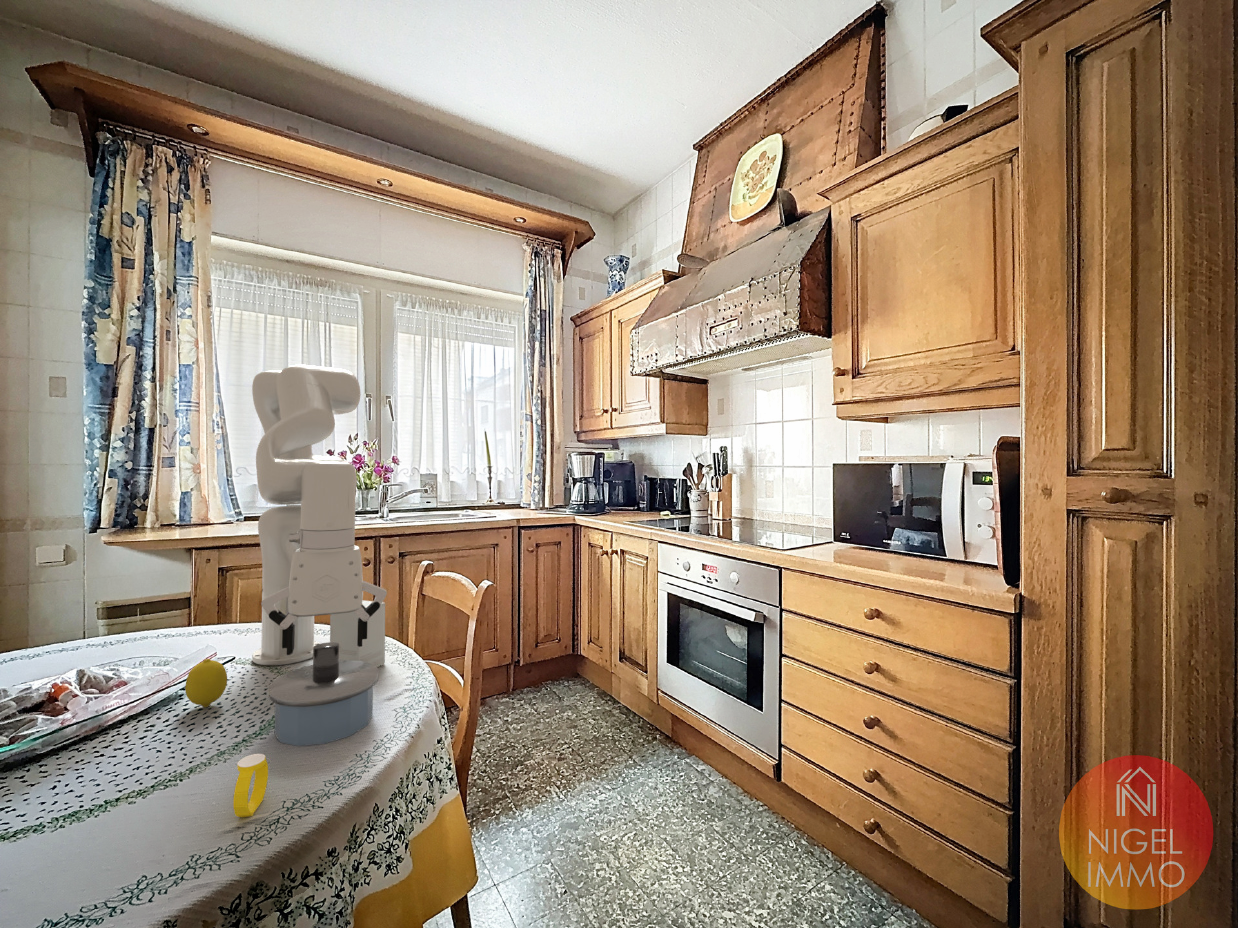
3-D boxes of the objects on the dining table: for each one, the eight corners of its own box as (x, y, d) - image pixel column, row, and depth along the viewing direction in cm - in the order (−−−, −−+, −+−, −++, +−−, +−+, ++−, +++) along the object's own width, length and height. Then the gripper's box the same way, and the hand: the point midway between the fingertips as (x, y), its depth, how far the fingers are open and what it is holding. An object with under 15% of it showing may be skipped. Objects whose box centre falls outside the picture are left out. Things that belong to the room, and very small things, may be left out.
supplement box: (386, 663, 110) (387, 602, 110) (357, 677, 103) (358, 611, 103) (357, 659, 112) (358, 598, 112) (327, 671, 105) (329, 607, 105)
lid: (290, 670, 90) (291, 633, 90) (386, 664, 93) (386, 629, 93) (250, 711, 75) (251, 666, 75) (366, 701, 79) (366, 659, 79)
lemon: (204, 716, 86) (204, 666, 86) (176, 712, 87) (176, 663, 87) (235, 701, 92) (235, 654, 92) (208, 698, 93) (209, 651, 93)
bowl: (294, 708, 89) (295, 672, 89) (378, 702, 92) (379, 667, 92) (261, 749, 77) (261, 707, 77) (359, 740, 79) (360, 699, 79)
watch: (254, 825, 61) (253, 775, 61) (226, 828, 60) (225, 778, 60) (274, 790, 67) (274, 744, 67) (249, 793, 66) (249, 746, 66)
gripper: (258, 545, 77) (256, 664, 78) (388, 540, 85) (386, 648, 85) (266, 538, 84) (264, 647, 84) (386, 534, 92) (384, 634, 92)
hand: (326, 647), depth 85 cm, fingers open, 9 cm apart
